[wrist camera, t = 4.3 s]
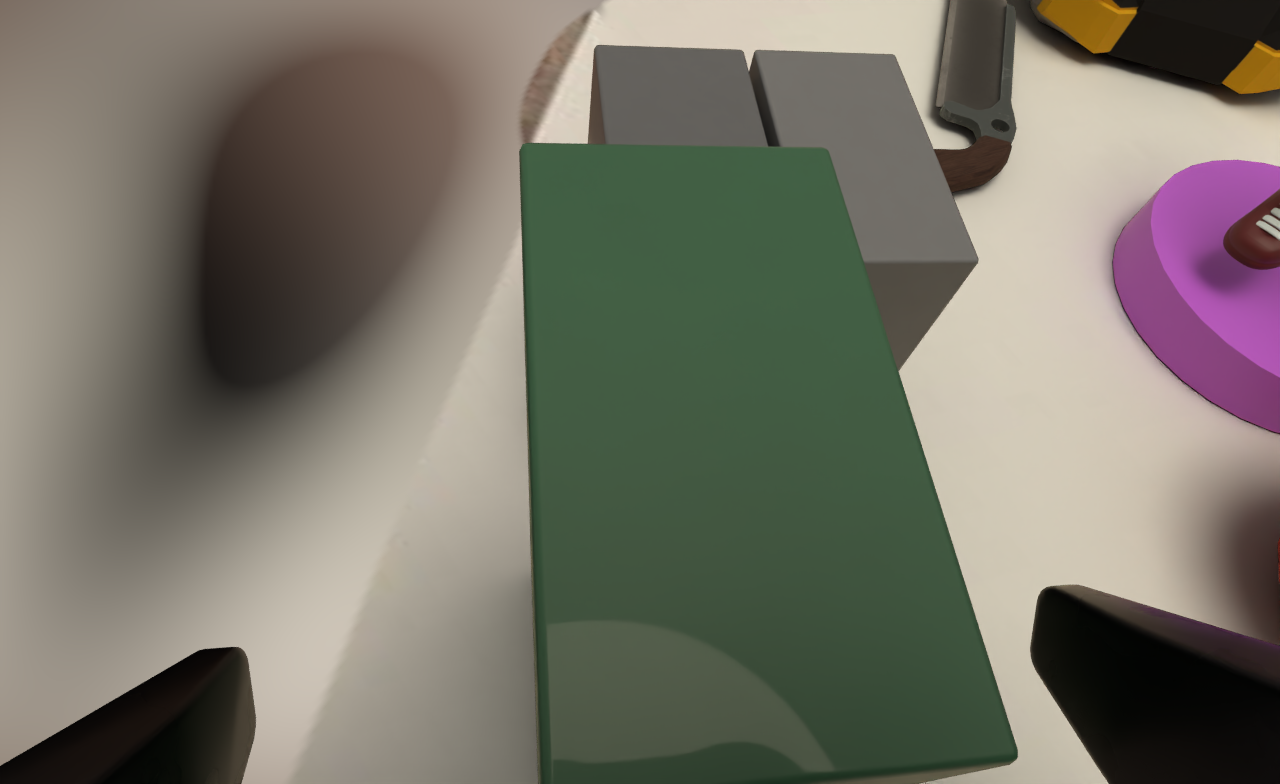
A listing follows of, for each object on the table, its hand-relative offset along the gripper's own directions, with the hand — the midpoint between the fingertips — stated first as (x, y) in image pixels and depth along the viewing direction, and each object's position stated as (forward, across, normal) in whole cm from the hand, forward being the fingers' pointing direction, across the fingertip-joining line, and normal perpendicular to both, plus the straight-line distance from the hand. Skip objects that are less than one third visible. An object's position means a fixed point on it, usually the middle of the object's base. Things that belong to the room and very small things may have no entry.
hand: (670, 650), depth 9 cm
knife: (+21, -15, -9) cm, 27 cm away
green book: (+7, 0, +5) cm, 9 cm away
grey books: (+12, -3, 0) cm, 13 cm away
